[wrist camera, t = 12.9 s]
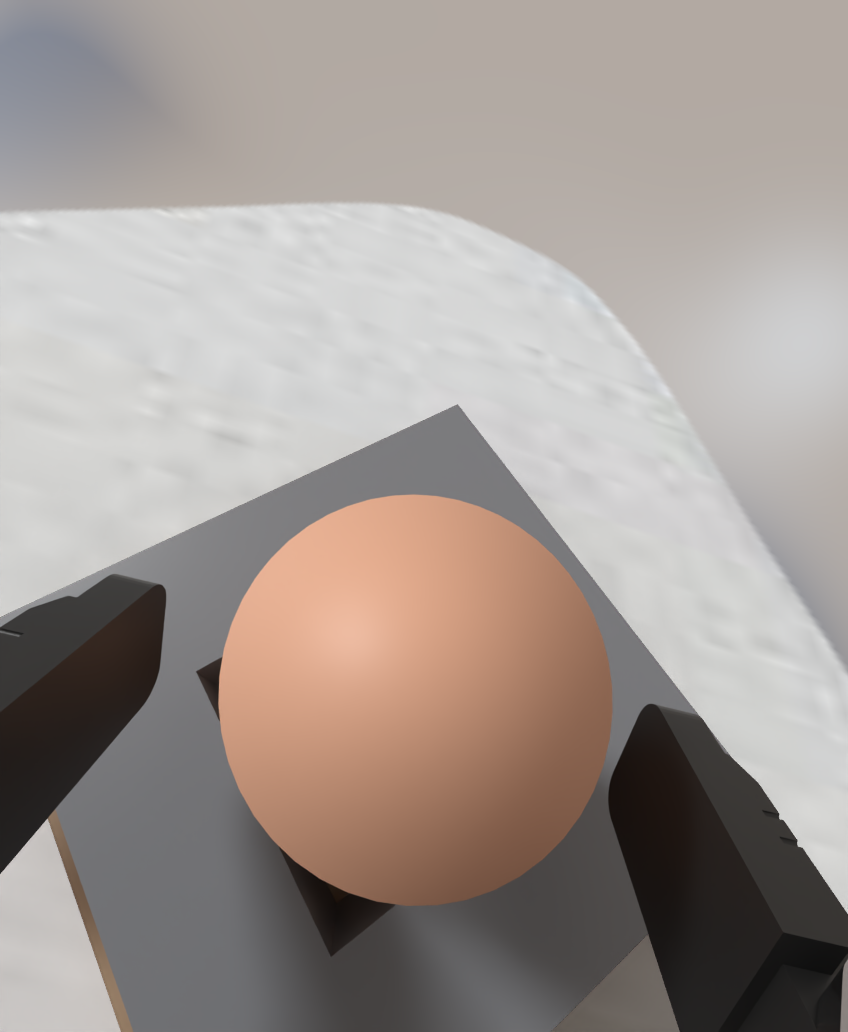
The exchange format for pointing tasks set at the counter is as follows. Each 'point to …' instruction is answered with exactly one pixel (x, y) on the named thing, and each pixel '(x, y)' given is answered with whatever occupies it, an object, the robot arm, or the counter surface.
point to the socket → (270, 870)
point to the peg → (415, 700)
